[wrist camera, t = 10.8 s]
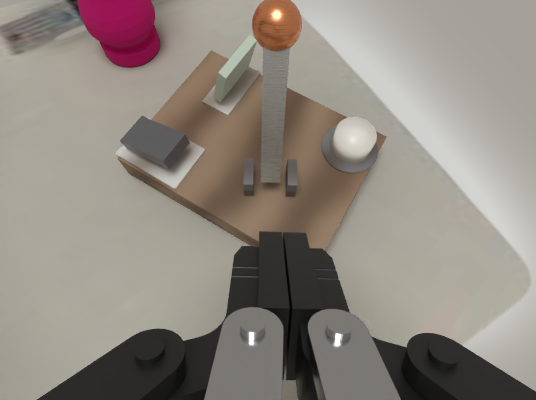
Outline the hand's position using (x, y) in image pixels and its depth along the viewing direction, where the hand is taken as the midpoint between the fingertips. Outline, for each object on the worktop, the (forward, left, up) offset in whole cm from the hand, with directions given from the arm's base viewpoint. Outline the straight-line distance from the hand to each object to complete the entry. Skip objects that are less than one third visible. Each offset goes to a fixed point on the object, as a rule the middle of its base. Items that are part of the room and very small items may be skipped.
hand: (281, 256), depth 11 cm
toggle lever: (-5, +9, -15) cm, 18 cm away
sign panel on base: (-14, +16, -16) cm, 26 cm away
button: (-1, +16, -17) cm, 23 cm away
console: (-8, +11, -20) cm, 24 cm away
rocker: (-15, +6, -15) cm, 22 cm away
